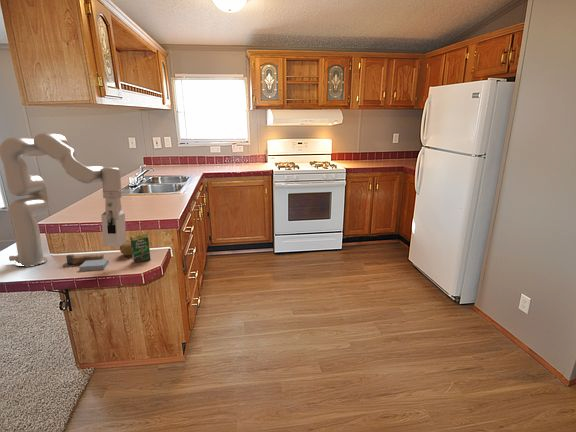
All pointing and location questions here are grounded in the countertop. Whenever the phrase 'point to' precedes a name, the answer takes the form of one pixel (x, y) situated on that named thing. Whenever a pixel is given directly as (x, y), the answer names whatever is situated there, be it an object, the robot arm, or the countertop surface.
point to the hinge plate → (70, 265)
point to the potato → (126, 248)
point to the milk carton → (120, 234)
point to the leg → (82, 258)
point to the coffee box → (140, 248)
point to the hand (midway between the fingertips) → (114, 230)
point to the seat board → (94, 265)
